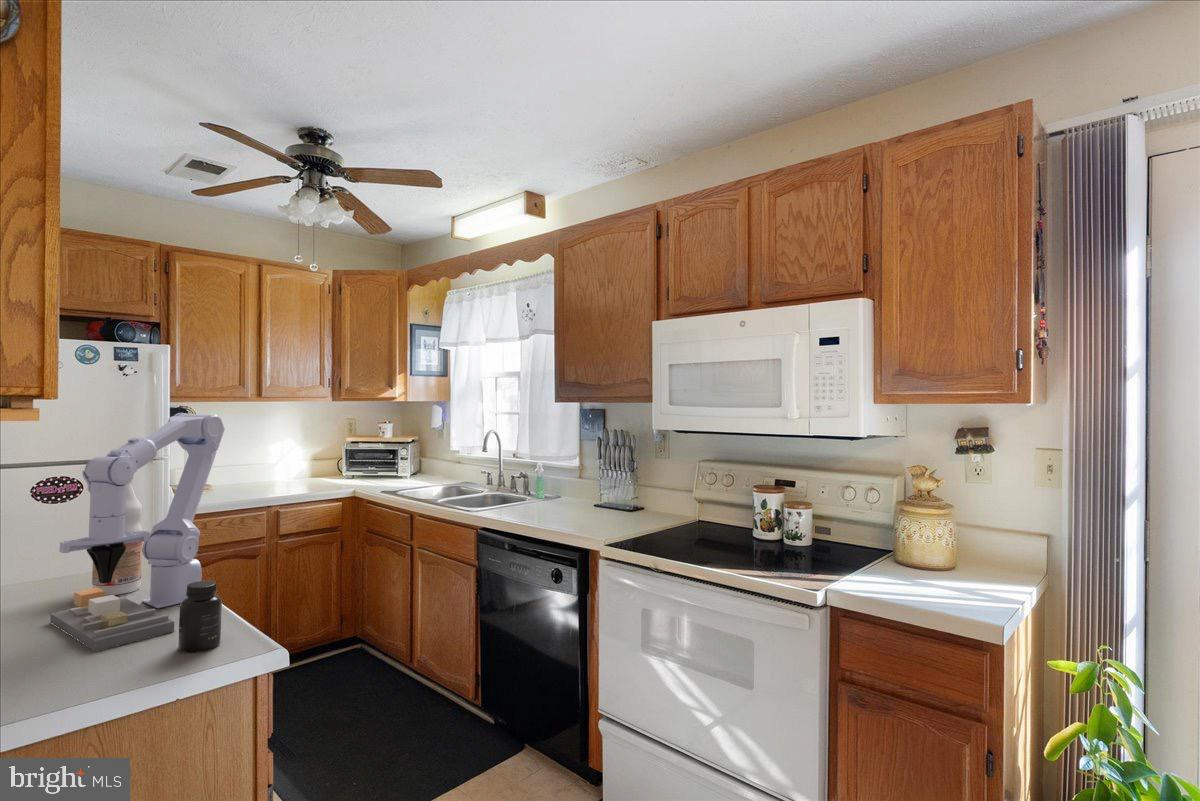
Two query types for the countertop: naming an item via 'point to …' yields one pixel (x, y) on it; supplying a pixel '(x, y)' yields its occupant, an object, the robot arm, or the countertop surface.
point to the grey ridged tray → (97, 638)
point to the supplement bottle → (200, 618)
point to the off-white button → (104, 605)
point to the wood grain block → (113, 619)
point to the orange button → (87, 596)
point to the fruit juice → (126, 553)
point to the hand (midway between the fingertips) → (105, 582)
